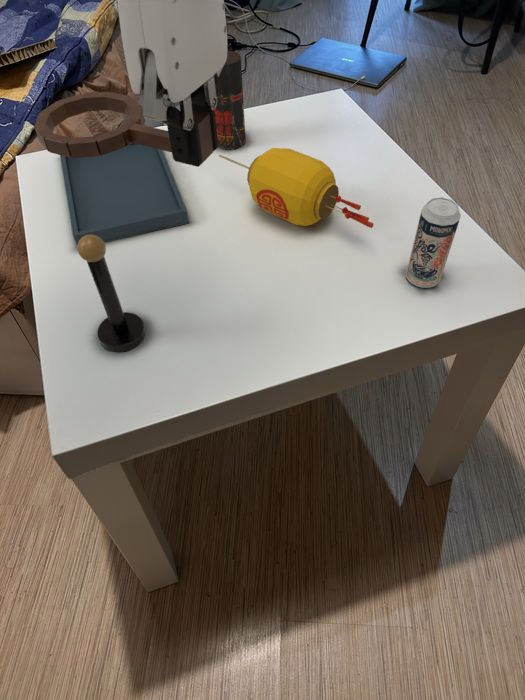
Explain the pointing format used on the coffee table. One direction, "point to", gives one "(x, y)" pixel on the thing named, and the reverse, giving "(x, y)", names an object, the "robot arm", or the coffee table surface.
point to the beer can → (433, 242)
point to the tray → (122, 193)
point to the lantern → (296, 187)
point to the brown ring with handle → (114, 139)
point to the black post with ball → (110, 301)
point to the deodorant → (230, 104)
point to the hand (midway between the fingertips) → (195, 153)
